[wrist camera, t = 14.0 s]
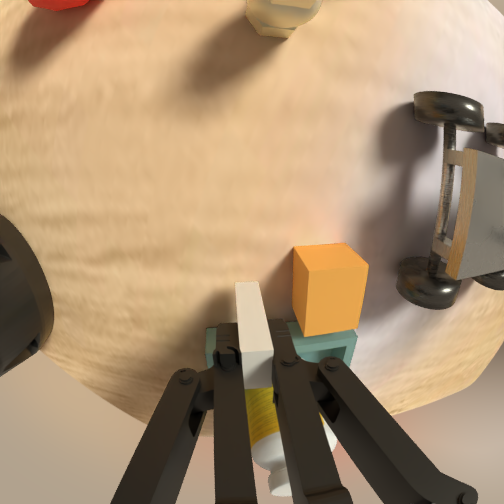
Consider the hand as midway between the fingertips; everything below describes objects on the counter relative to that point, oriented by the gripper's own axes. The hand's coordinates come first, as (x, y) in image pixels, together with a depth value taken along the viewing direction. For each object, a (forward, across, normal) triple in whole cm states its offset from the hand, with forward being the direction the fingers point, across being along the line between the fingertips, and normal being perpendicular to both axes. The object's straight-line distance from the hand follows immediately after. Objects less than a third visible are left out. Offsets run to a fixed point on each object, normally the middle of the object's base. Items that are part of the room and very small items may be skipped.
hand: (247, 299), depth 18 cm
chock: (+2, +6, 0) cm, 6 cm away
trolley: (+2, +20, +7) cm, 21 cm away
